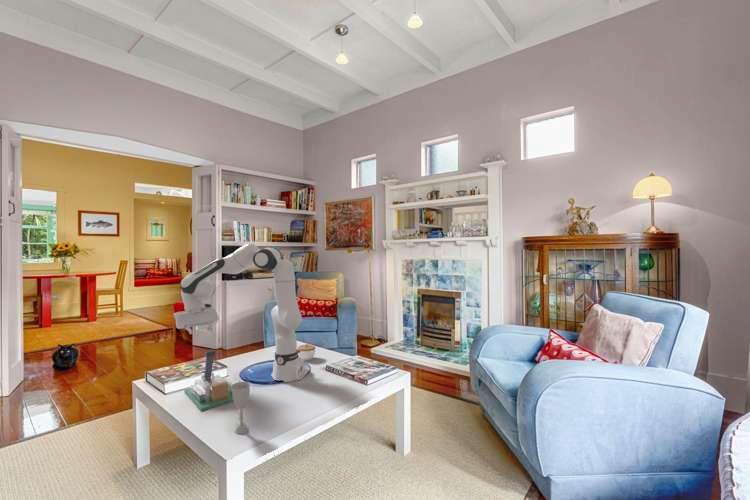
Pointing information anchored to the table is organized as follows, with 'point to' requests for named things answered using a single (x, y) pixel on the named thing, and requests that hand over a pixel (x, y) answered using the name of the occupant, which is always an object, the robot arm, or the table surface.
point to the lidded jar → (307, 352)
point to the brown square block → (219, 391)
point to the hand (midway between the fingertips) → (200, 331)
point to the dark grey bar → (209, 363)
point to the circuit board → (207, 405)
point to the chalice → (241, 402)
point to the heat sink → (207, 387)
